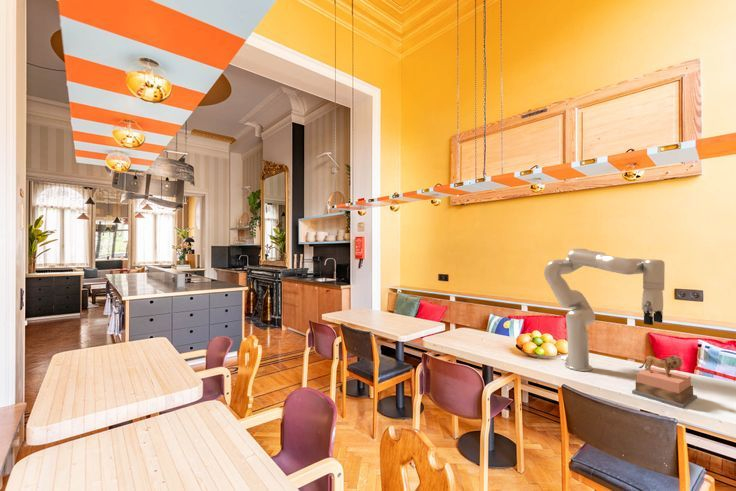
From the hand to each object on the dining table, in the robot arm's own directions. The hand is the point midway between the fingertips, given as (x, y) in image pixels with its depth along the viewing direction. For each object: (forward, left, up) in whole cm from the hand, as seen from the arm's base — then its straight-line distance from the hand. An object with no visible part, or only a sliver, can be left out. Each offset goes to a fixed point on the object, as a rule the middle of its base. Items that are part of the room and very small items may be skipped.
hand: (653, 323), depth 153 cm
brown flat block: (+5, -7, -29) cm, 30 cm away
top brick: (+5, -7, -25) cm, 26 cm away
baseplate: (+5, -7, -30) cm, 31 cm away
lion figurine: (+4, -6, -21) cm, 22 cm away
